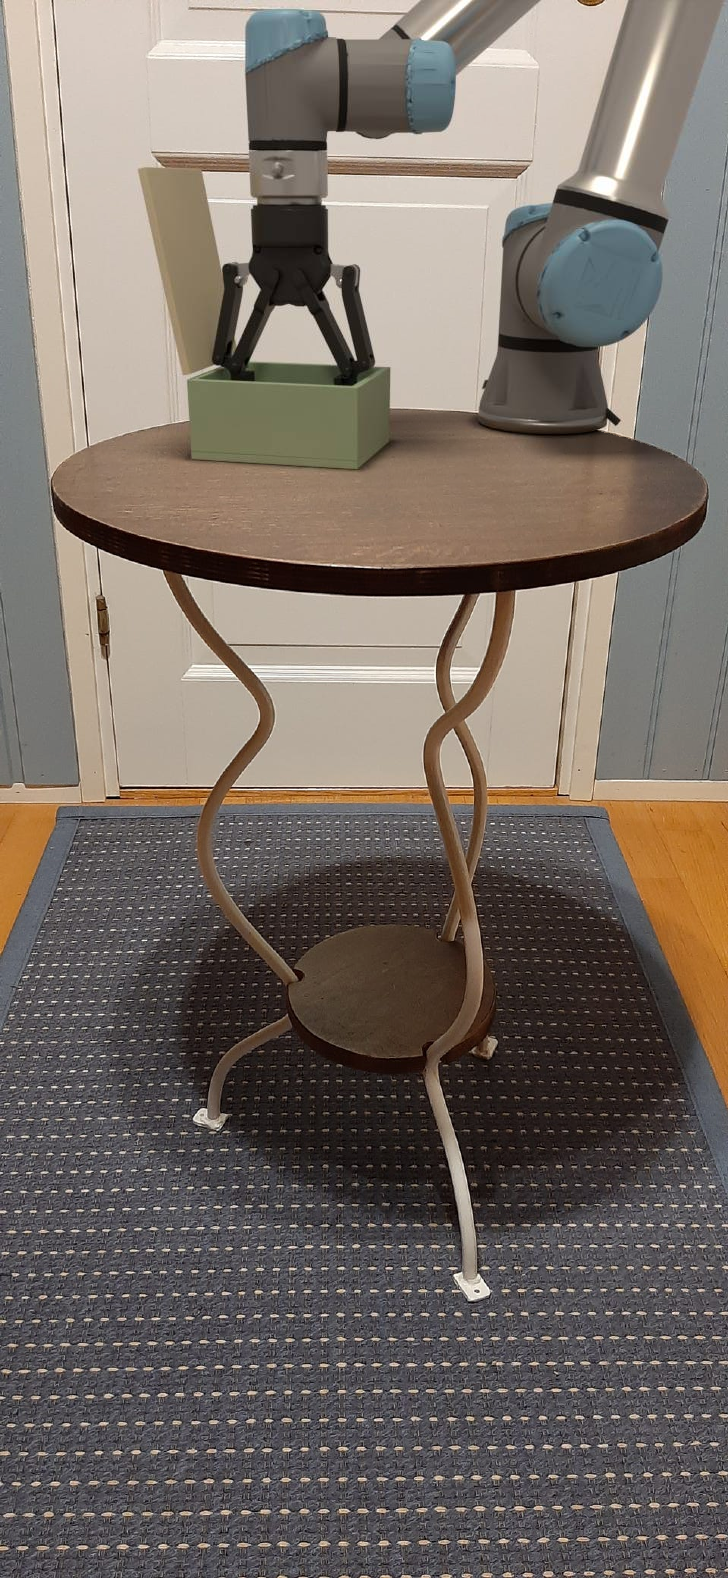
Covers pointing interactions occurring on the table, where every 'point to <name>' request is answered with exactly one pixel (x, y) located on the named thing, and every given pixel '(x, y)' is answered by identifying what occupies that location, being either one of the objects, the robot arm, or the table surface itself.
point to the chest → (289, 415)
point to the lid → (186, 260)
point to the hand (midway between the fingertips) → (294, 438)
